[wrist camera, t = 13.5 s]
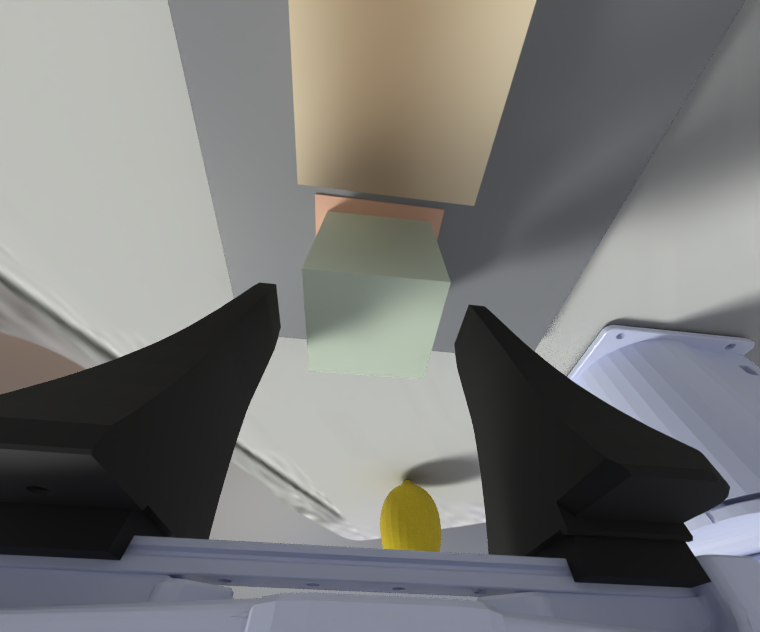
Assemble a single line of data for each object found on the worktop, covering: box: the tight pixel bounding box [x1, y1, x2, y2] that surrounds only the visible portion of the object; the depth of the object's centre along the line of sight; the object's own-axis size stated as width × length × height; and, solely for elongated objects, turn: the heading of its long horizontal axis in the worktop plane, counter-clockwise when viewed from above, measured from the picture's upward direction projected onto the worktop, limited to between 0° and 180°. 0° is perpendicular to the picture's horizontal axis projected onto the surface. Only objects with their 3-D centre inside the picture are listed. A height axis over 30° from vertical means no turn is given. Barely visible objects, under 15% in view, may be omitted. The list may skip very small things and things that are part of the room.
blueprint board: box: [168, 0, 745, 353], centre depth 12 cm, size 17×19×1 cm
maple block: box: [288, 0, 536, 206], centre depth 8 cm, size 4×4×5 cm
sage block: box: [302, 211, 451, 379], centre depth 12 cm, size 4×4×5 cm
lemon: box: [380, 480, 441, 552], centre depth 27 cm, size 6×6×8 cm
